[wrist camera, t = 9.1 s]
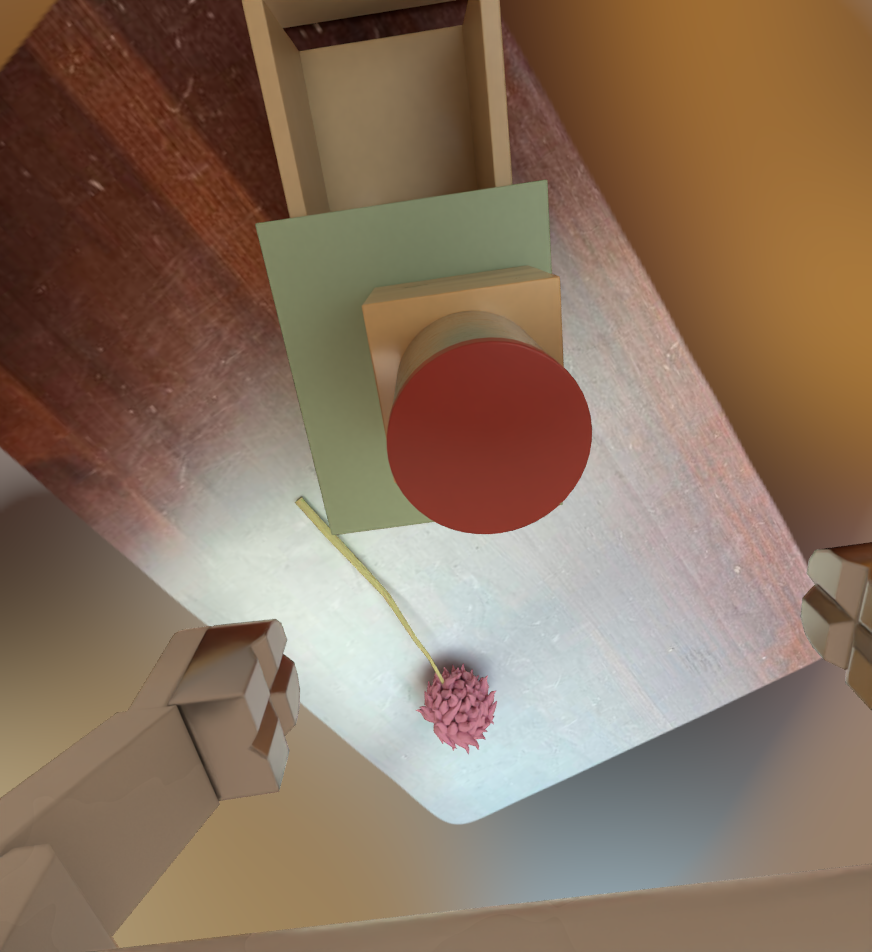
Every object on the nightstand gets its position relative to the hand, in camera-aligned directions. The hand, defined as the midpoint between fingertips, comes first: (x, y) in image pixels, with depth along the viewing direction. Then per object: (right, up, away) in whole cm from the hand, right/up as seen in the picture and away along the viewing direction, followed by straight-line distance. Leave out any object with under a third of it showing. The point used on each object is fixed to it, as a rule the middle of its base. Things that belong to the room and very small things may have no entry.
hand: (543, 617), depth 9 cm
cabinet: (-2, +11, +28) cm, 30 cm away
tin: (0, +6, +12) cm, 13 cm away
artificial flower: (-5, -9, +37) cm, 38 cm away
